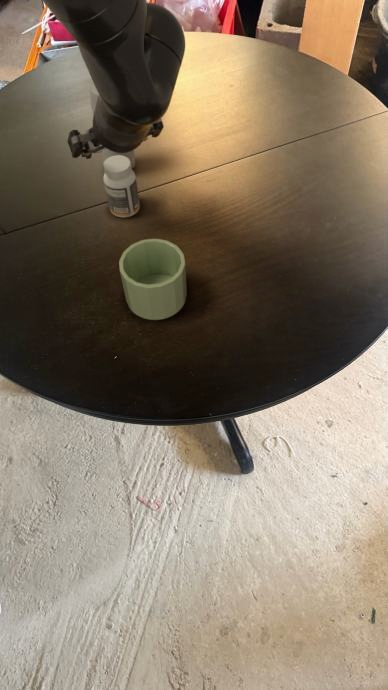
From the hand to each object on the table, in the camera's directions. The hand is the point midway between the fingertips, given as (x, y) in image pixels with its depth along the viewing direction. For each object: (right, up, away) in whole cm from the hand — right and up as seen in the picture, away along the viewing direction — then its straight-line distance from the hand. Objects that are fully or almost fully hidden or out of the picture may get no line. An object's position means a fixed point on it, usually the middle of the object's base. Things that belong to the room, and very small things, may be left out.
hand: (111, 146), depth 79 cm
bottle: (-1, +2, +17) cm, 17 cm away
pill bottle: (+1, -7, +11) cm, 13 cm away
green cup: (+8, -25, -1) cm, 26 cm away
